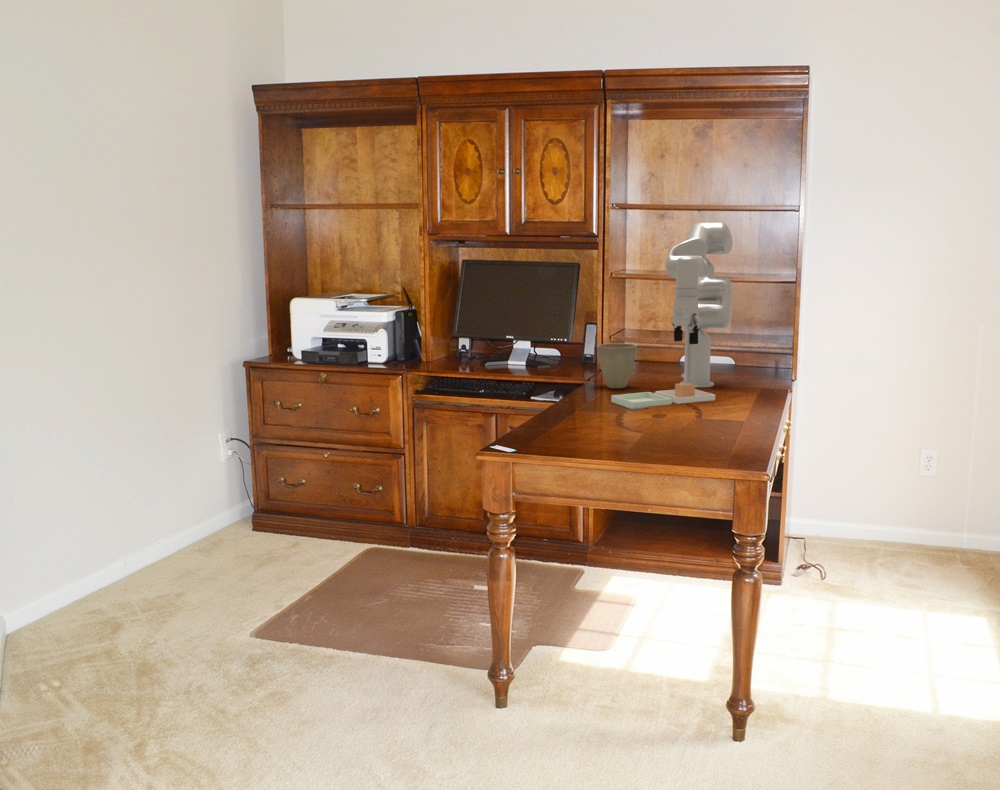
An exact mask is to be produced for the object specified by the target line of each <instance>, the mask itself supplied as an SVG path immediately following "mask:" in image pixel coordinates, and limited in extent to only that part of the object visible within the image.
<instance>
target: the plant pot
mask: <svg viewBox="0 0 1000 790" xmlns="http://www.w3.org/2000/svg"><path fill="white" fill-rule="evenodd" d="M596 348H597V354H598V361H599V365H600V369H601V370H600V371H601V373H602V376H603V377H602V378H603V380H604V382H605V385H606V388H609V389H625V388H627V386H628V384H629V381H630V378H631V376H632V372H633V367H634V363H635V359H636V355H637V353H636V352H637V348H638V347H637V344H632V343H619V342H617V343H616V342H615V343H603V344H602V343H601V344H597V345H596Z"/></svg>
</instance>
